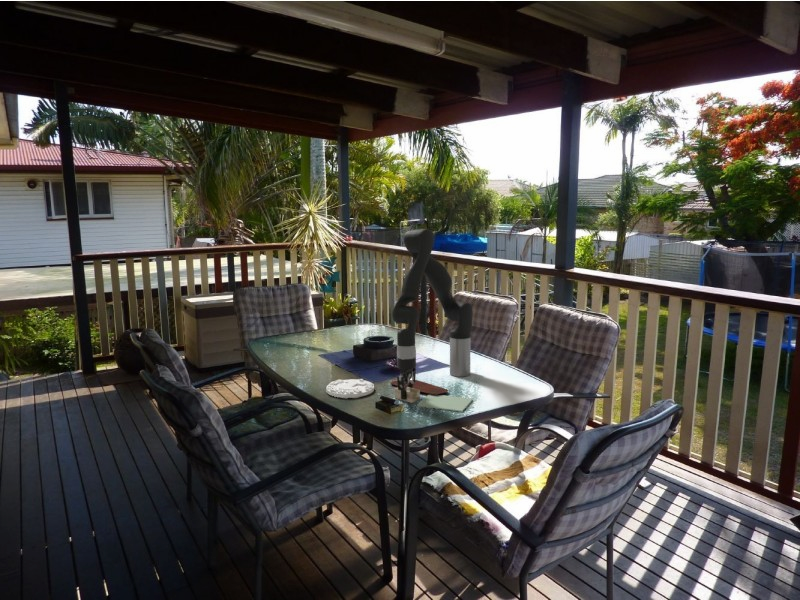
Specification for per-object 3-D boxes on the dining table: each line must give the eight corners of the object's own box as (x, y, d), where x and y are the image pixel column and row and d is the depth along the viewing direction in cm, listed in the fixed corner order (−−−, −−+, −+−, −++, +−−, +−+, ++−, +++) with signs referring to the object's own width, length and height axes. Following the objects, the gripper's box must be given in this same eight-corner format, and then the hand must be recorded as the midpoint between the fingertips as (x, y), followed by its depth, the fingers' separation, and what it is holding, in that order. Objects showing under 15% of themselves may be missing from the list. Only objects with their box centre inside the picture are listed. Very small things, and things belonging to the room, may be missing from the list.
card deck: (402, 394, 237) (402, 385, 236) (419, 399, 231) (419, 389, 230) (394, 398, 233) (394, 388, 232) (411, 402, 227) (411, 393, 226)
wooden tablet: (388, 385, 249) (388, 381, 249) (404, 379, 256) (404, 376, 256) (434, 397, 231) (434, 393, 230) (451, 391, 238) (450, 387, 237)
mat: (429, 395, 235) (429, 393, 235) (472, 400, 229) (472, 398, 228) (417, 406, 223) (417, 405, 223) (462, 412, 216) (462, 410, 216)
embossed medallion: (383, 391, 243) (383, 384, 242) (347, 403, 229) (347, 396, 229) (353, 381, 257) (353, 375, 256) (316, 391, 243) (316, 385, 243)
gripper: (404, 350, 237) (405, 390, 240) (390, 359, 224) (391, 401, 227) (421, 352, 234) (422, 392, 237) (408, 361, 221) (408, 403, 224)
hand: (407, 396), depth 232 cm, fingers closed on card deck, 6 cm apart
